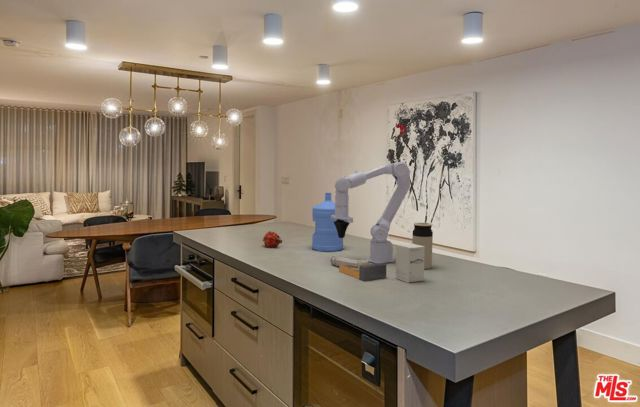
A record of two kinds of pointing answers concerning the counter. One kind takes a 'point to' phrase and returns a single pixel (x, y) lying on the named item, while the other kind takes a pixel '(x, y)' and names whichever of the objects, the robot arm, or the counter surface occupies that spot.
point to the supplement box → (410, 262)
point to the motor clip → (366, 271)
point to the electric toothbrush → (347, 262)
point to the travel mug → (424, 241)
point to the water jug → (325, 227)
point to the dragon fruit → (271, 239)
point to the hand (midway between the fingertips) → (341, 237)
